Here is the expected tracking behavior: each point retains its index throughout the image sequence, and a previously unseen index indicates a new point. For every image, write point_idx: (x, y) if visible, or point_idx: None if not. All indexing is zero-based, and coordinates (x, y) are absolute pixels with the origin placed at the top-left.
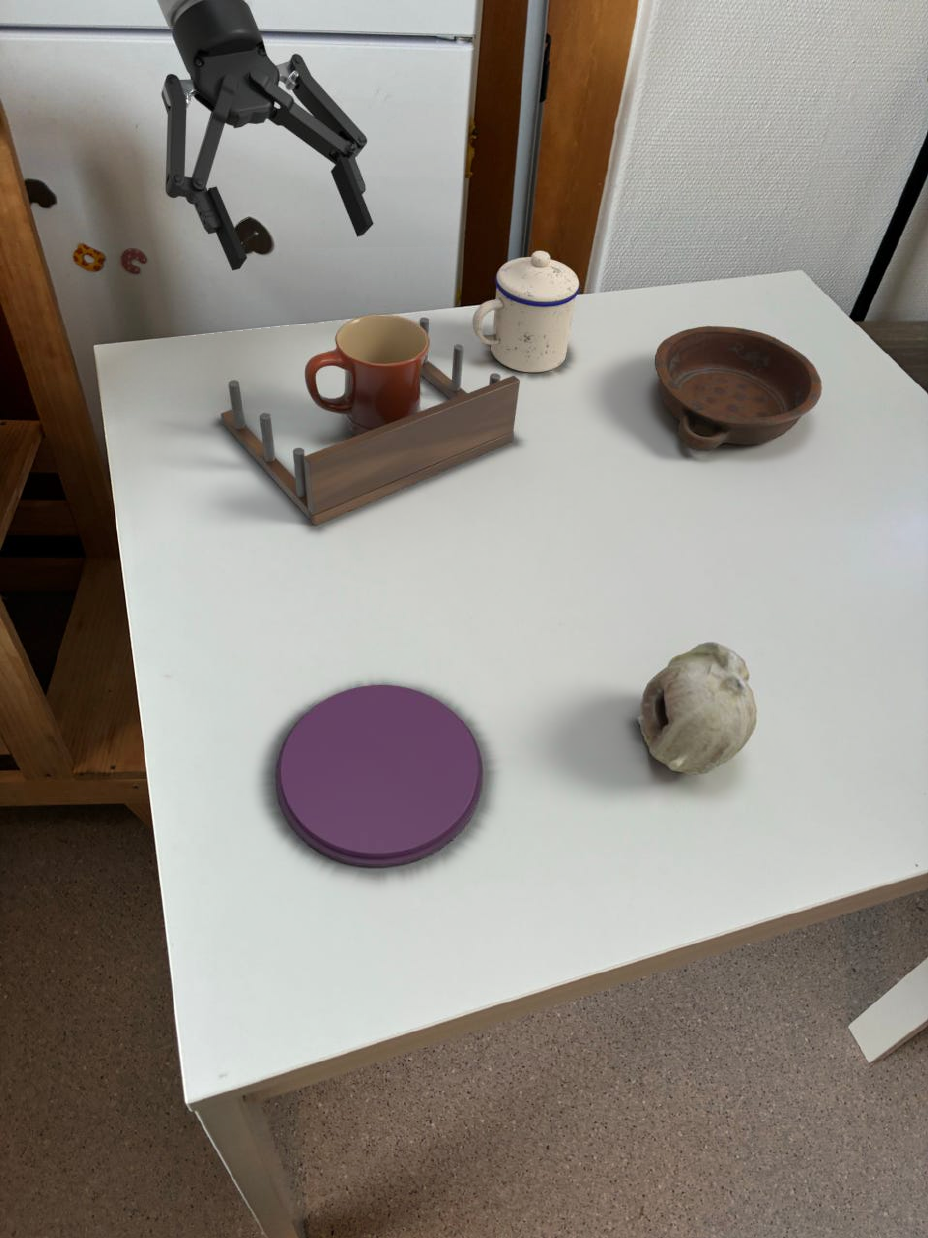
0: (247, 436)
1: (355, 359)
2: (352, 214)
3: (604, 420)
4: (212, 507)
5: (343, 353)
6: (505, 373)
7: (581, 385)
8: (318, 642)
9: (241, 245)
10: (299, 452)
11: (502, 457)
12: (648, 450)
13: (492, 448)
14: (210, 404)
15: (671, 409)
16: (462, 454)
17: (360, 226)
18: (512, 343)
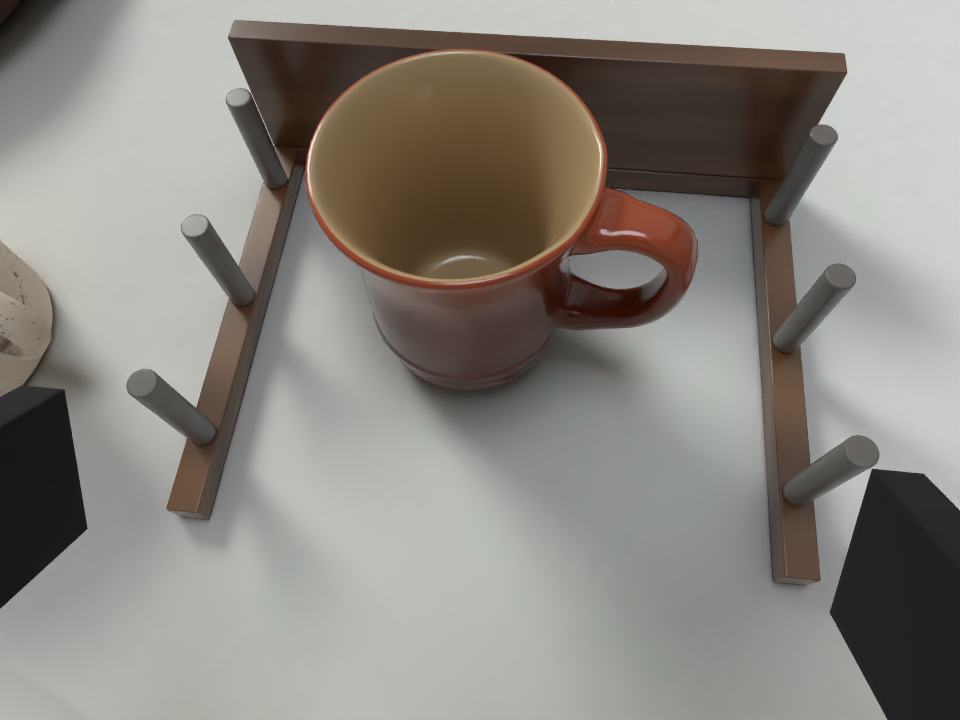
0: (796, 444)
1: (595, 124)
2: (1, 554)
3: (96, 96)
4: (946, 329)
5: (606, 165)
6: (78, 313)
7: (8, 189)
8: (892, 6)
9: (912, 506)
10: (824, 129)
11: None
12: (127, 10)
13: None
14: (800, 690)
15: (3, 5)
16: None
17: (60, 470)
18: (9, 278)
